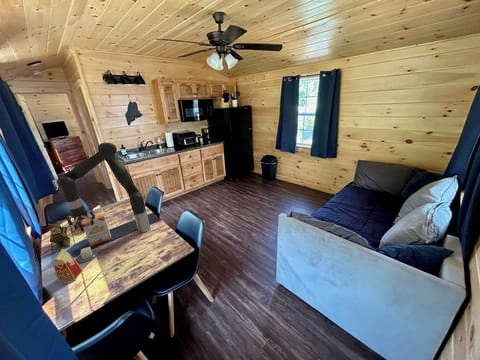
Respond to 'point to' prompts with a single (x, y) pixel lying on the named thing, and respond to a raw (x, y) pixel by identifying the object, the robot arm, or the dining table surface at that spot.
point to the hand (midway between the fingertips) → (85, 226)
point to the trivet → (94, 254)
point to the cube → (86, 252)
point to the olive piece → (60, 237)
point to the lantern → (80, 224)
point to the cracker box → (96, 230)
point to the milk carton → (66, 267)
